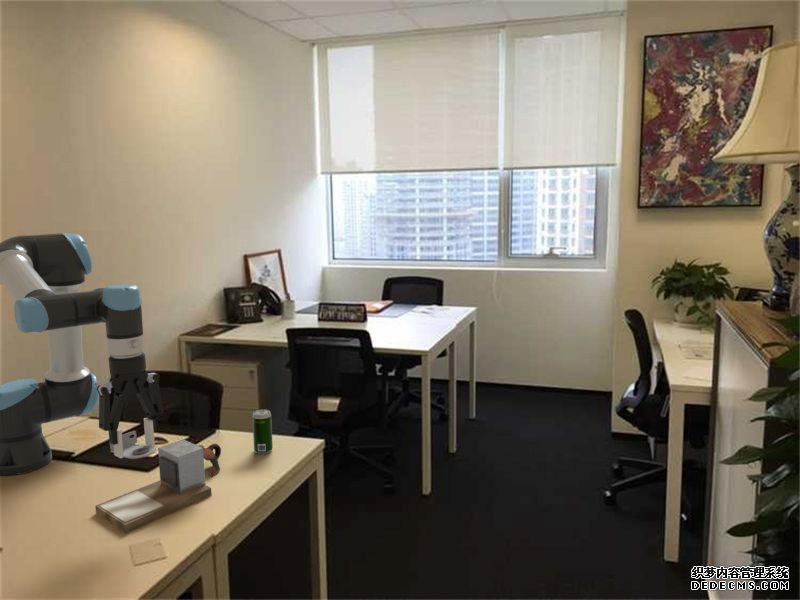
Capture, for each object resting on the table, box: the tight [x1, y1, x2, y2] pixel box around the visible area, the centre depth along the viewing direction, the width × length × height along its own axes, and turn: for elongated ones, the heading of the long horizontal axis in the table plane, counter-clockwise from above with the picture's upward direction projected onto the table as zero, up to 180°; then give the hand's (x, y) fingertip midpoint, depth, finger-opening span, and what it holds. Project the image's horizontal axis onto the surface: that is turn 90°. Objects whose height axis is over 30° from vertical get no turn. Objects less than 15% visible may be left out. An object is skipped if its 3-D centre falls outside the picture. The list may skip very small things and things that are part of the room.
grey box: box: [157, 439, 206, 495], centre depth 157 cm, size 9×8×10 cm
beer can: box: [252, 409, 274, 455], centre depth 182 cm, size 5×5×12 cm
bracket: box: [109, 430, 157, 460], centre depth 142 cm, size 7×10×4 cm, turn 56°
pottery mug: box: [198, 443, 222, 478], centre depth 171 cm, size 12×10×8 cm
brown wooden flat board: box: [95, 479, 212, 534], centre depth 152 cm, size 14×22×2 cm, turn 141°
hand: (135, 450), depth 142 cm, fingers closed on bracket, 7 cm apart
